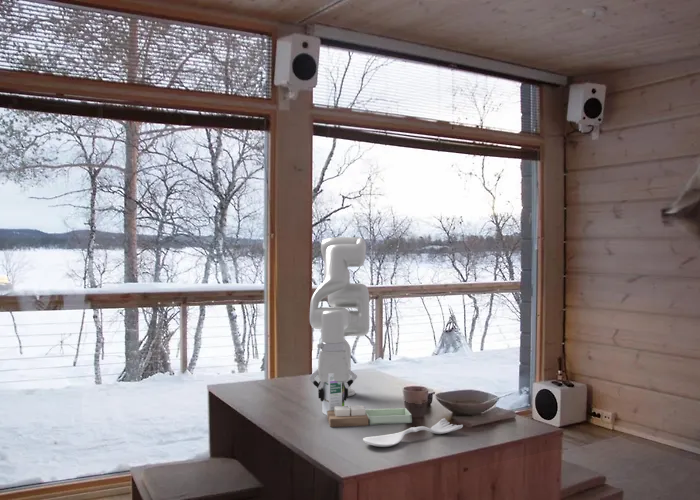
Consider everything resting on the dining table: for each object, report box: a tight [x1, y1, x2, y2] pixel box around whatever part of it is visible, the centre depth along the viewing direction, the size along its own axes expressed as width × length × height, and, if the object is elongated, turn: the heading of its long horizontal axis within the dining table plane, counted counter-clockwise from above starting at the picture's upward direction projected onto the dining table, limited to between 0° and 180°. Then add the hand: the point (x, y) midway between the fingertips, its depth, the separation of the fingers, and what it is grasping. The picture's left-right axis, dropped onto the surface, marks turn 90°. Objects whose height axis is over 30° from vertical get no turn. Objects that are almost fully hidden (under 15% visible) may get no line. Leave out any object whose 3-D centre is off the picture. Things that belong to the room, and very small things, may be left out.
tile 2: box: [349, 405, 366, 416], centre depth 203 cm, size 4×4×2 cm
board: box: [326, 411, 369, 428], centre depth 202 cm, size 10×12×2 cm
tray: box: [365, 407, 413, 426], centre depth 204 cm, size 9×14×2 cm, turn 98°
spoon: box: [362, 417, 464, 448], centre depth 184 cm, size 9×32×4 cm, turn 121°
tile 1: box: [334, 405, 350, 416], centre depth 202 cm, size 4×4×2 cm
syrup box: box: [321, 373, 345, 416], centre depth 212 cm, size 6×6×14 cm
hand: (333, 399), depth 212 cm, fingers closed on syrup box, 7 cm apart
